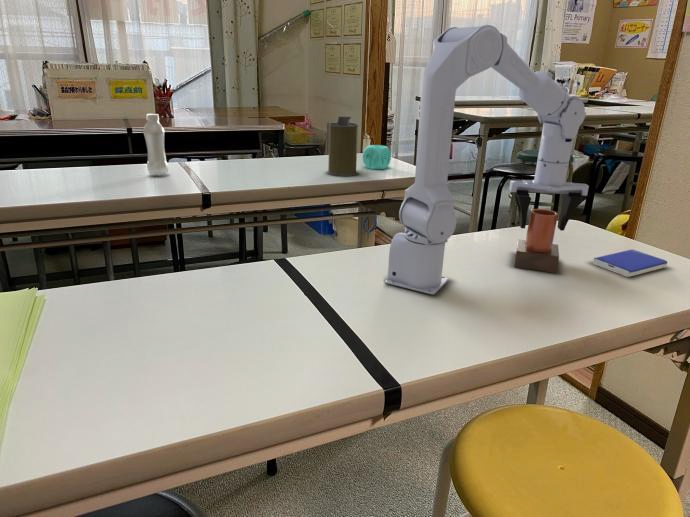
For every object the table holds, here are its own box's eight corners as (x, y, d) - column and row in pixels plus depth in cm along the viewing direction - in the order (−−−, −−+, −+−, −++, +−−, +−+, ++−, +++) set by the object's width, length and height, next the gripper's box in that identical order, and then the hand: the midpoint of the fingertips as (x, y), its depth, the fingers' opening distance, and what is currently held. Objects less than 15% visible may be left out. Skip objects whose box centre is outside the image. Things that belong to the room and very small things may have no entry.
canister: (359, 171, 189) (361, 115, 182) (352, 177, 180) (354, 118, 173) (331, 169, 192) (332, 114, 185) (323, 174, 182) (323, 116, 175)
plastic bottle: (165, 177, 170) (159, 115, 163) (145, 177, 170) (138, 114, 163) (171, 173, 176) (166, 113, 169) (152, 173, 176) (145, 112, 169)
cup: (528, 251, 103) (534, 215, 100) (522, 242, 108) (528, 208, 105) (554, 252, 102) (561, 216, 100) (547, 244, 107) (553, 209, 105)
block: (513, 267, 104) (516, 250, 103) (515, 254, 111) (518, 239, 110) (556, 273, 102) (559, 256, 100) (555, 260, 109) (558, 244, 107)
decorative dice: (361, 167, 197) (362, 146, 195) (373, 164, 203) (374, 144, 201) (379, 170, 193) (380, 148, 190) (390, 167, 199) (391, 146, 196)
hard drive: (631, 248, 112) (593, 256, 107) (668, 260, 106) (630, 270, 100) (629, 255, 113) (592, 263, 107) (666, 267, 106) (628, 277, 101)
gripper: (519, 162, 95) (509, 232, 100) (599, 166, 94) (585, 236, 99) (511, 156, 102) (501, 221, 107) (586, 159, 101) (573, 225, 106)
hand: (541, 228), depth 104 cm, fingers open, 7 cm apart
